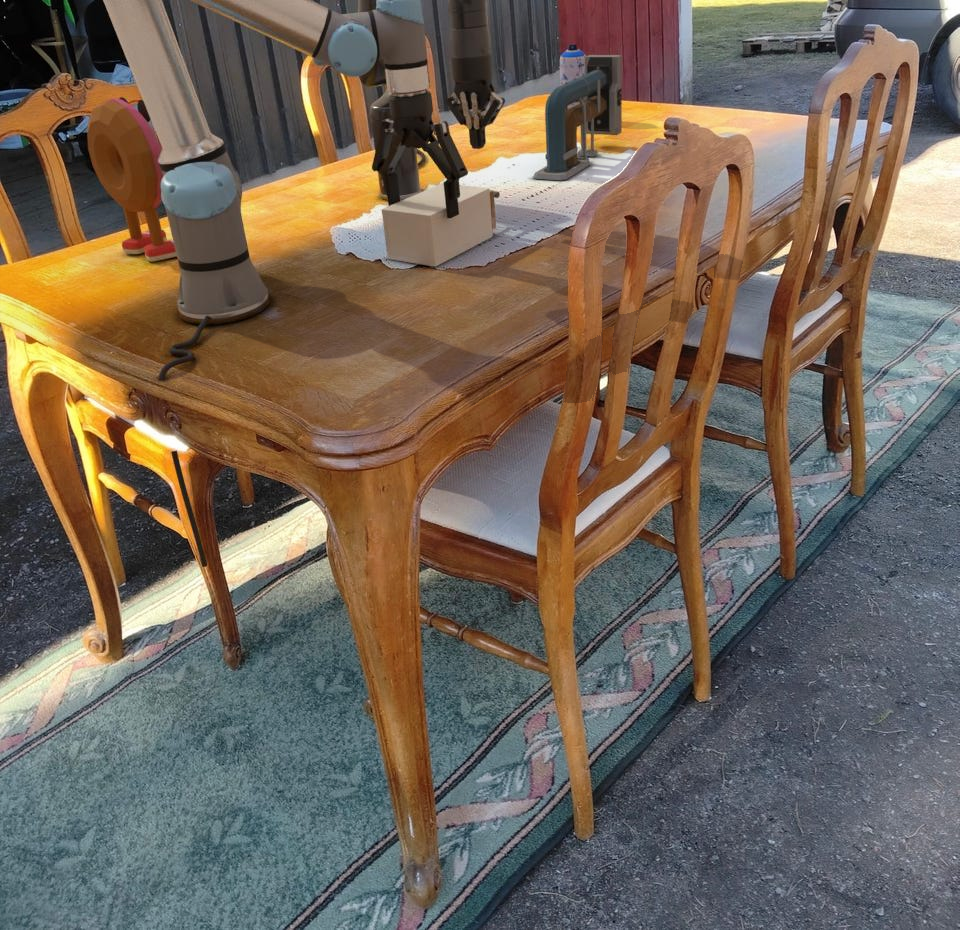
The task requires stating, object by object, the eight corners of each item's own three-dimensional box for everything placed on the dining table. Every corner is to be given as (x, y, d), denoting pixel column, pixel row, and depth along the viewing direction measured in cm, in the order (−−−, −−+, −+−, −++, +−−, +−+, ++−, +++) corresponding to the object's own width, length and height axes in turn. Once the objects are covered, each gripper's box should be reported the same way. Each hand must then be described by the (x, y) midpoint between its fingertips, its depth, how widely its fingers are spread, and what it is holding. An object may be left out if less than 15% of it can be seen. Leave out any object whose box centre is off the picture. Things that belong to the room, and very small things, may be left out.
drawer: (470, 214, 200) (467, 178, 196) (511, 220, 195) (509, 183, 191) (401, 248, 184) (396, 209, 181) (443, 254, 179) (440, 215, 175)
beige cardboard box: (446, 230, 196) (442, 183, 191) (492, 236, 190) (489, 188, 185) (387, 258, 183) (381, 209, 178) (435, 266, 177) (430, 215, 172)
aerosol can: (559, 122, 275) (557, 47, 265) (562, 117, 282) (559, 42, 272) (587, 121, 274) (585, 45, 263) (589, 115, 280) (587, 41, 270)
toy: (207, 253, 194) (172, 96, 178) (163, 268, 187) (122, 106, 172) (152, 236, 207) (115, 88, 191) (109, 250, 200) (67, 98, 185)
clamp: (565, 180, 221) (562, 81, 210) (530, 178, 225) (526, 81, 214) (621, 144, 247) (621, 55, 236) (589, 143, 251) (588, 55, 240)
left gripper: (480, 89, 164) (490, 213, 175) (369, 86, 177) (384, 201, 188) (454, 98, 159) (466, 225, 170) (341, 94, 172) (359, 212, 183)
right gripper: (511, 49, 179) (517, 145, 188) (454, 48, 186) (461, 141, 194) (489, 56, 174) (495, 155, 182) (430, 55, 180) (439, 150, 189)
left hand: (423, 212), depth 179 cm, fingers open, 13 cm apart
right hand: (478, 147), depth 188 cm, fingers closed
